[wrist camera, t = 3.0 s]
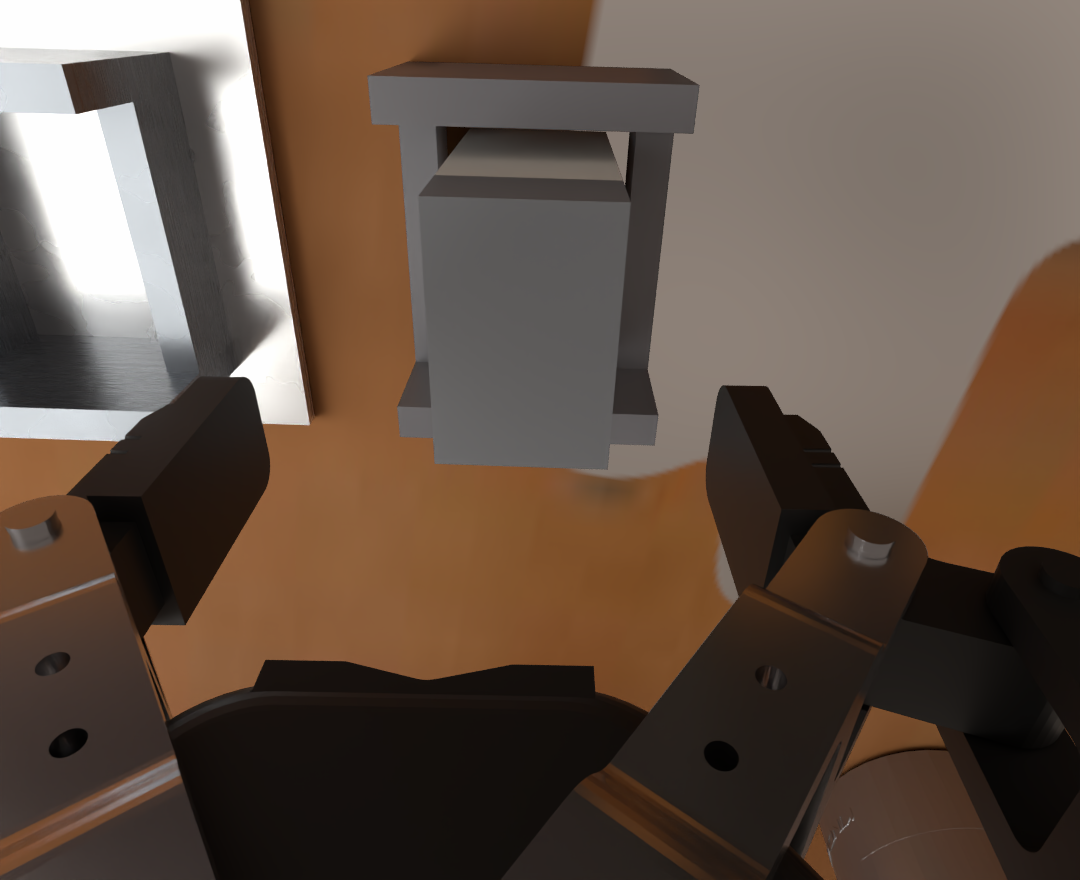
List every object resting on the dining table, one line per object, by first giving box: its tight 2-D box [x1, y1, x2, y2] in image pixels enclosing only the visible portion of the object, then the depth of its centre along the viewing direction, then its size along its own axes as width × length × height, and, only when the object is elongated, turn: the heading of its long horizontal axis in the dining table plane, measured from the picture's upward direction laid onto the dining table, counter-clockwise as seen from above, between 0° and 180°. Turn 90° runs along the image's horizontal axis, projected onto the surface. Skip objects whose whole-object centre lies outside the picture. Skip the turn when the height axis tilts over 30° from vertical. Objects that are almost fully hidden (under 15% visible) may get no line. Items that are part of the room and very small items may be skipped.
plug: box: [418, 128, 631, 469], centre depth 19 cm, size 4×6×9 cm, turn 179°
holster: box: [368, 61, 699, 445], centre depth 21 cm, size 7×9×5 cm
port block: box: [0, 0, 315, 441], centre depth 20 cm, size 12×14×6 cm
